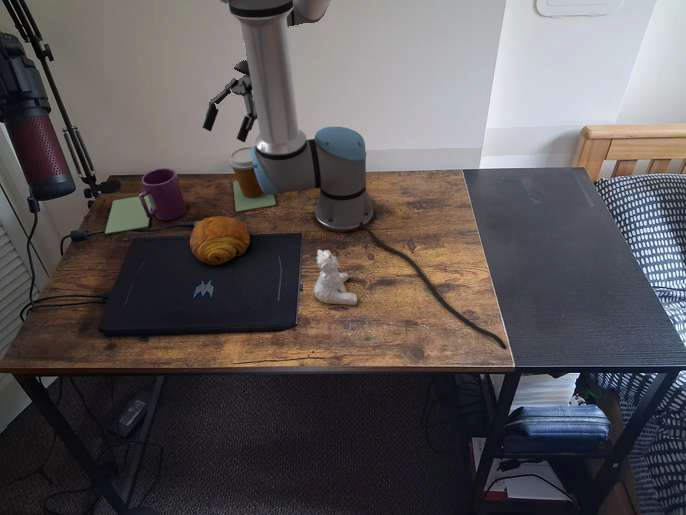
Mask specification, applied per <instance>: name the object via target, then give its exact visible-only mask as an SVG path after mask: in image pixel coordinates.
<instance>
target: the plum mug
mask: <svg viewBox="0 0 686 515" xmlns="http://www.w3.org/2000/svg"><path fill="white" fill-rule="evenodd" d="M141 183H142V186H143V188H144V191H143V192H140V194H138V197H139V199H140V201H141V204H142V206H143V209H144V211H145V214H146V216H147V217H148V218H150V219H151V217H153V216H155V218H156V219H158V220H161V221H172V220H175V219H179V218H180V217H182V216H183V215H184V214H186V212H187V210H188V206H187V203H186V202H187V201H186V200H185V196H184V193H183V190H182V186H181V184H180V181H179V178H178V175H177V172H176V170H175V169H172V168H169V167H168V168H167V167H161V168H156V169H153V170H150V171H148V172H147V173H145V174H144V175H143V176H142V177H141ZM145 196H147V197H148V199H149V202H150V204H151V207H152V208H151V212H149V209H148V207H147V204H146V201H145V199H144V197H145Z"/></svg>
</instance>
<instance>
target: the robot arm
mask: <svg viewBox="0 0 686 515" xmlns="http://www.w3.org/2000/svg"><path fill="white" fill-rule="evenodd" d="M219 2H222V3H224V4H228V8H229V13H230V15H232V16H233V17H234V18H235V19H236V20H238V21H239V22H240V27H241V33H242V40H243V39H244V45H245V50H246V56H247V61H246V60H245V61H244V60H243V61H241V62H239V63H238V64H236V66H235V67H234V69H235V70H237V71H239V72H241V73H243V74H246V75H244V76H243V77H242V78H240V79H239V80H236V79H235V78H233V79H232V80H231V82H230V83H229V84H227V85H226V86H225V89H224V90H223V91H222V92H220V94H218V95H217V96H216V97H214V98H213V99H210V100H211V101H210V102H209V104H208V108H207V110H206V113H205V119H204V122H203V125H202V129H204V130H206V131H208V132H212V130H213V127H214V124H215V122H216V118H217V116H218V113H219V110H220V109H219V108H218V109H216V106H215V104H214V103H216V104H219V103H220V102H221V101H222V100H223V99H224V98H225V97H226V96H227V95H228V94H230V93H231V91H230V89H231V90H232V92H233V93H235V95H236V96H241V97H243V101H244V105H245V109H246V115H244V117H243V120H242V122H241V125H240V128H239V131H238V133H237V136H236V140H238V141H241V142H242V143H246V141H247V138H248V135H249V134H250V132H251V130H252V129H253V126H254V124H255V121H256V120H257V123H258V130H259V134H257V135H256V138H255V140H254V146H251V147H252V148H251V150H250V153H251V159H252V163H253V166H254V170H255V174H256V177H257V180H258V183H259V185H260V187H261V189H262V191H263V192H264V193H266V194H268V195H272V194H274V195H284V194H287V193H295V192H301V191H308V190H314V189H315V190H316V189H319V195H318V198H317V201H315V202H312V206H313V207H315V210H314V213H315V220H316V222H317V224H318V225H319V226H320V227H321V228H323V229H325V230H327V231H330V232H334V233H341V234H342V233H352V232H356V231H359V230H365V231H366V233H368V235H370V237H371V238H372V239H373V241H374V242H375V243H377V244H378V245H379V246H380V247H381V248H383V249H385V250H387V251H389V252H391V253H393V254H396V255H398V256H400V257H402V258H403V259H404V260H405V261H407V262H408V263H409V264H410V266H412V267H413V269H414V270H415V271H416V273H417V274H418V276H419V277H420V278H421V279H422V280H423V282H424V283H425V284H426V286H427V287H428V288H429V289H430V292H431V293H432V294H433V296H434V297H435V298H436V299H437V300H438V301H439V303H441V304H442V306H444V307H445V308H446V309H447V310H448V311H449V312H450V313H451V314H453V315H454V316H455V317H456V318H458V319H459V320H461V322H462V323H465V324H466V325H468V326H469V327H470V328H472V329H473V330H475V331H477V332H478V333H480V334H483V335H486V336H488V337H490V338H492V339H494V340H495V341H496V342H497V343H498V344H499V346H500V347H501V349H503V350H507V346H506V344H505V342H504V341H503V340H502V338H501V337H499V336H498V335H497V334H495V333H493V332H491V331H489V330H486V329H484V328H482V327H480V326H478V325H477V324H475V323H474V322H472V321H471V320H469V319H467V318H466V317H465V316H463V315H462V314H460V313H459V312H458V311H457V310H456V309H455V308H453V307H452V306H450V304H449V303H448V302H447V301H446V300H444V299H443V297H442V296H441V295H440V294H439V292H437V290H436V289H435V288H434V285H433V284H432V283H431V282H430V281H429V279H428V278H427V277H426V275H425V274H424V273H423V272H422V270H421V269H420V267H419V266H418V265H417V264H416V262H414V261H413V259H411V258H410V257H409V256H408V255H406V254H405V253H403V252H401V251H399V250H397V249H395V248H392V247H391V246H388V245H387V244H386V243H384V242H382V241H381V240H380V239H379V238H378V237H377V236H376V234H375V233H373V231H372V230H370V228H369V227H368V225H369V224H370V223H371V222H372V221H373V219H374V206H373V203H372V201H371V200H372V199H371V198H370V195H369V193H368V190H367V161H366V160H367V159H366V158H367V150H366V142H365V139H364V137H363V136H362V135H361V134H360V132H358V131H356V130H354V129H351V128H348V127H344V126H326V127H323V128H321V129H318V130H317V131H316V132H315V136H314V138H311V139H310V138H309V139H307V135H306V134H305V132H304V131H302V129H300V128H299V121H298V112H297V111H298V110H297V102H296V95H295V94H296V93H295V84H294V75H293V67H292V66H293V65H292V57H291V46H290V39H289V30H288V28H290V27H289V26H294V25H299V24H303V23H315V22H318V21H319V20H320V19H321V18H322V17H323V16H324V14H325V12H326V10H327V8H328V6H329V4H330V2H331V0H219ZM287 27H288V28H287ZM486 442H487V441H486ZM486 442H483V444H484V445H486V444H485V443H486Z"/></svg>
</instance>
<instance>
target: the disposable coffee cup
mask: <svg viewBox="0 0 686 515" xmlns="http://www.w3.org/2000/svg"><path fill="white" fill-rule="evenodd" d="M252 147H253V146H245V147H240V148H237V149H235V150H233V151H232V152H231V153H230V155H229V159H228V163H229V165H230V166H231V167H232V170H233V173H234V176H235V178H236V181H238V183H239V186H240V188H241V191H242V194H243V196H244V197H247V198H256V197H259V196H261V195H263V193H264V192H263V191H262V189H261V187H260V185H259V183H258V180H257V177H256V174H255V170H254V166H253V163H252V159H251V153H250V150H251V148H252Z"/></svg>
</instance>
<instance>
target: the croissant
mask: <svg viewBox="0 0 686 515" xmlns="http://www.w3.org/2000/svg"><path fill="white" fill-rule="evenodd" d="M250 233H251V232H250V230H249V226H248V224H246V223H245V222H243V221H241V220H239V219H236V218H234V217H229V216H223V215H216V216H211V217H206V218H204V219H203V220H200V221H198V222H197V223H195V226H194V227H193V228H192V231H191V235H190V239H189V247H190V249H191V253H192V254H193V256H195V257H196V258H197V260H199V261H200V262H201V263H204V264H207V265H210V266H218V265H221V264H224V263H226V262H228V261H231V260H232V259H234V258H235V257H239V256H242V255H243V254H245V252H246V251H247V250H248V248H249V246H250V243H251V234H250Z"/></svg>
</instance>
